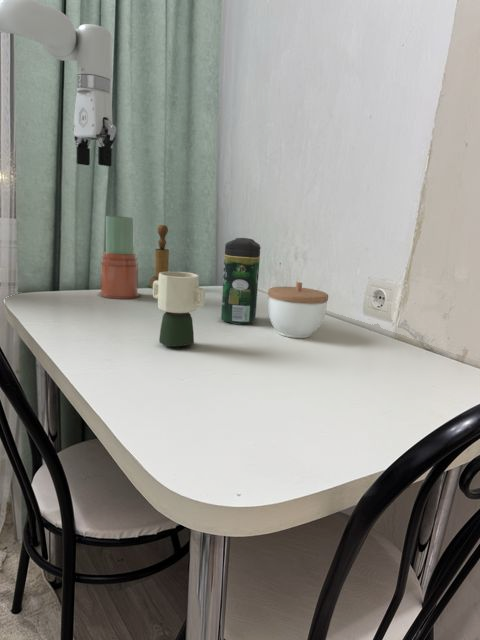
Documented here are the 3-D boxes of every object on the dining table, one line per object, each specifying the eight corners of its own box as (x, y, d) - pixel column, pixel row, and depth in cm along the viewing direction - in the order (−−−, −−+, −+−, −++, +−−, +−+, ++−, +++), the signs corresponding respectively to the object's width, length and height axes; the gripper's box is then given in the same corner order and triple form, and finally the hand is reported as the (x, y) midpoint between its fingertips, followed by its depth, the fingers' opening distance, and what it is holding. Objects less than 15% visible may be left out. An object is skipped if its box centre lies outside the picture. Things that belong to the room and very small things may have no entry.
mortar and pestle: (145, 287, 148) (146, 223, 143) (156, 284, 154) (158, 223, 149) (165, 290, 146) (167, 226, 141) (176, 287, 152) (178, 225, 147)
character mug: (212, 346, 93) (216, 276, 90) (190, 355, 87) (194, 280, 83) (163, 336, 97) (165, 268, 94) (140, 343, 91) (141, 271, 88)
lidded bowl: (261, 325, 113) (266, 276, 110) (316, 328, 115) (322, 280, 112) (268, 339, 101) (273, 285, 98) (329, 343, 103) (336, 289, 100)
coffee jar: (223, 314, 121) (228, 235, 116) (256, 317, 121) (262, 238, 116) (218, 323, 111) (223, 237, 106) (253, 326, 111) (260, 241, 106)
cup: (100, 251, 129) (100, 215, 127) (123, 251, 134) (124, 216, 132) (115, 254, 125) (115, 217, 123) (138, 254, 130) (139, 218, 128)
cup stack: (92, 293, 132) (92, 250, 129) (124, 290, 139) (125, 250, 136) (113, 300, 126) (113, 255, 123) (146, 297, 133) (146, 255, 130)
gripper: (60, 86, 120) (61, 162, 125) (99, 80, 109) (98, 163, 114) (89, 93, 126) (89, 166, 130) (129, 88, 115) (127, 168, 119)
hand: (93, 165), depth 122 cm, fingers open, 9 cm apart
